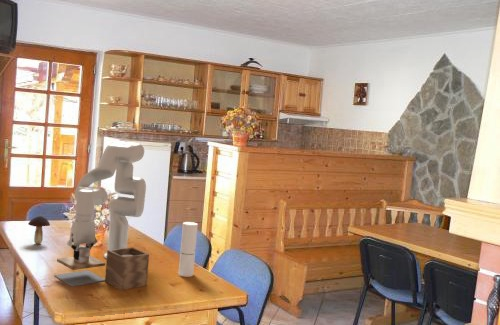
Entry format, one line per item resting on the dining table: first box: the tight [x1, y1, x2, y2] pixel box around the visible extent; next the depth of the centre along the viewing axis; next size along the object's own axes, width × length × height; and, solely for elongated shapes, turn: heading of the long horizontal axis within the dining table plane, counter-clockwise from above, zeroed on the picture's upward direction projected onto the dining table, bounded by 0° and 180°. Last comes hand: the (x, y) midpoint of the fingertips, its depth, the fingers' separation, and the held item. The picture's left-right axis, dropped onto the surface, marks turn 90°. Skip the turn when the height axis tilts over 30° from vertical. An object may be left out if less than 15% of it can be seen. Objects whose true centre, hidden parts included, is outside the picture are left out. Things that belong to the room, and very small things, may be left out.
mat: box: [54, 269, 105, 288], centre depth 227 cm, size 16×16×1 cm
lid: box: [56, 245, 106, 271], centre depth 226 cm, size 15×15×7 cm
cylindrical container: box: [178, 221, 199, 278], centre depth 247 cm, size 7×7×25 cm
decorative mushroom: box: [28, 216, 51, 245], centre depth 276 cm, size 11×11×15 cm
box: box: [104, 247, 150, 291], centre depth 226 cm, size 13×13×14 cm
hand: (81, 258), depth 226 cm, fingers closed on lid, 4 cm apart
